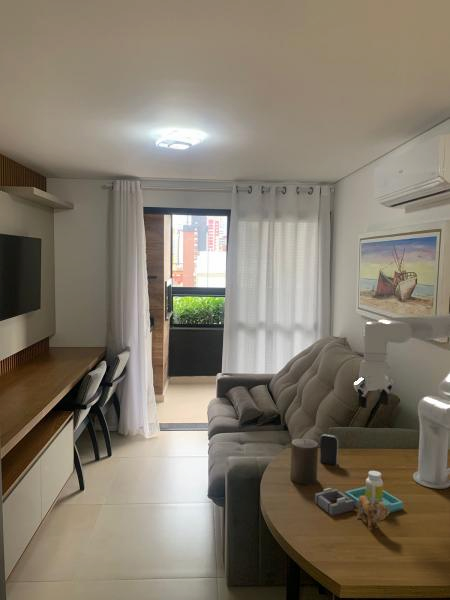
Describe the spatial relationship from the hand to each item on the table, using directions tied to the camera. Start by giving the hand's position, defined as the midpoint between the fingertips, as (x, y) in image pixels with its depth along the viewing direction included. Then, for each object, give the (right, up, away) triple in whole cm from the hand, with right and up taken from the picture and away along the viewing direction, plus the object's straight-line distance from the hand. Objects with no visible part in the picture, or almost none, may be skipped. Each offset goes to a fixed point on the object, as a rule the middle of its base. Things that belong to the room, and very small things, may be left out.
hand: (373, 405), depth 156 cm
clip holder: (-16, -31, -10) cm, 36 cm away
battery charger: (-10, -29, +24) cm, 39 cm away
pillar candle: (-23, -30, +9) cm, 38 cm away
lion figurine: (-7, -32, -19) cm, 38 cm away
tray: (-3, -31, -8) cm, 32 cm away
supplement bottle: (-2, -30, -8) cm, 31 cm away
